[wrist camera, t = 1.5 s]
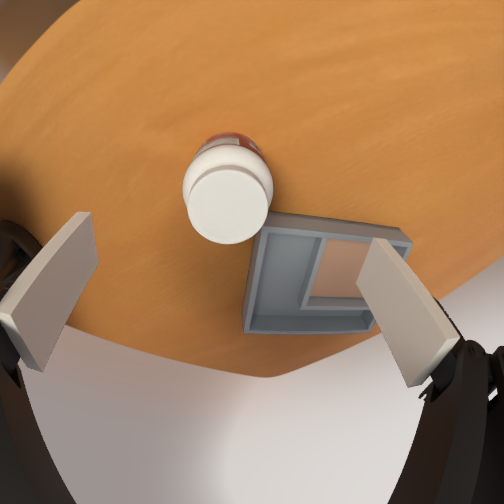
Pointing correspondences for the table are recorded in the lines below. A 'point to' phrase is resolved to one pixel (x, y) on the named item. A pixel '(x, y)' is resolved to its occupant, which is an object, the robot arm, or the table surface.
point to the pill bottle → (228, 189)
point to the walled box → (311, 275)
